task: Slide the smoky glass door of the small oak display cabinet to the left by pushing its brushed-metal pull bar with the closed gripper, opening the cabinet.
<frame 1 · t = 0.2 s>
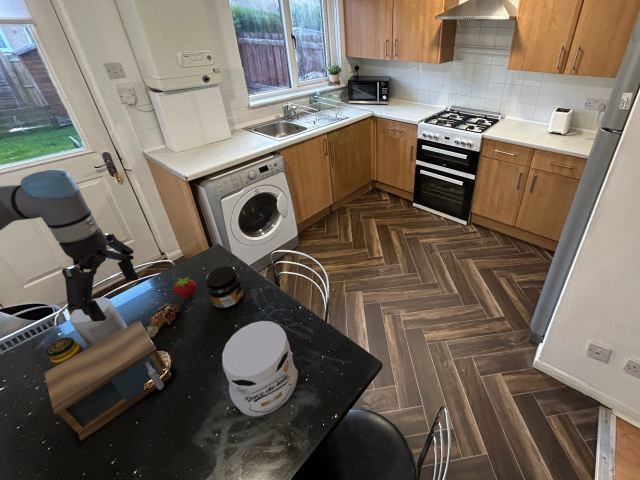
hand: (117, 298, 82), 24 cm above the table, tool pointing down, fingers open, 13 cm apart
pastry: (162, 321, 104), on the table
doce de leite tub: (267, 387, 86), on the table
supplement tub: (112, 341, 98), on the table
supplement container: (229, 299, 113), on the table
cabinet: (121, 386, 86), on the table
glass door: (142, 382, 81), point 6 cm above the table, slide at 0.0 cm
strawberry: (189, 298, 113), on the table
condiment: (77, 371, 90), on the table
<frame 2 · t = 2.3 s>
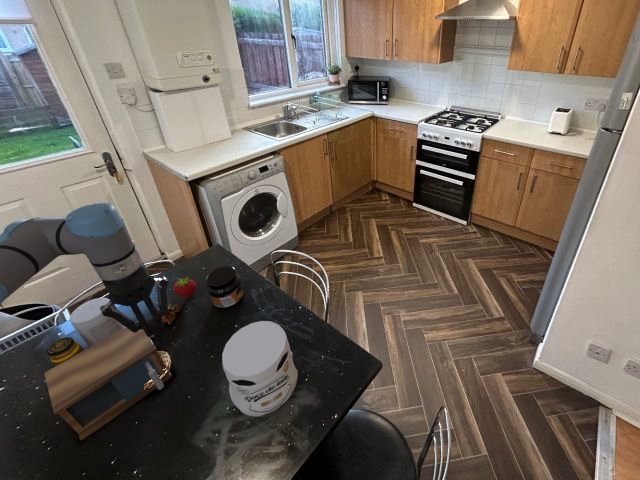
hand: (160, 339, 79), 18 cm above the table, tool pointing down, fingers closed
nothing on the table moved.
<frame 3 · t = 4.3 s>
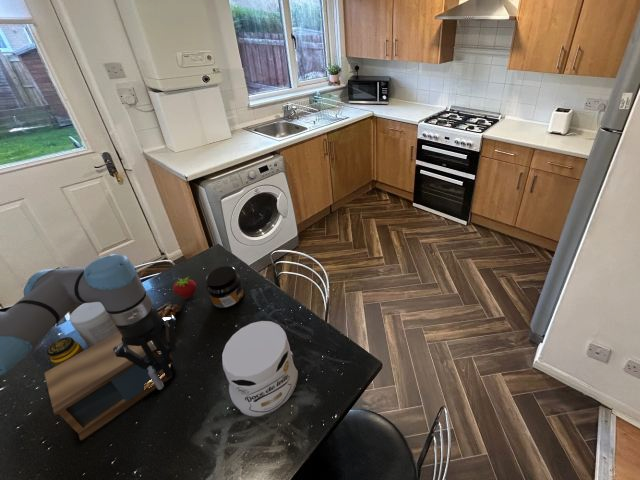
hand: (168, 372, 83), 6 cm above the table, tool pointing down, fingers closed
glass door: (142, 382, 81), point 6 cm above the table, slide at 0.0 cm, touching gripper
everything else where it was.
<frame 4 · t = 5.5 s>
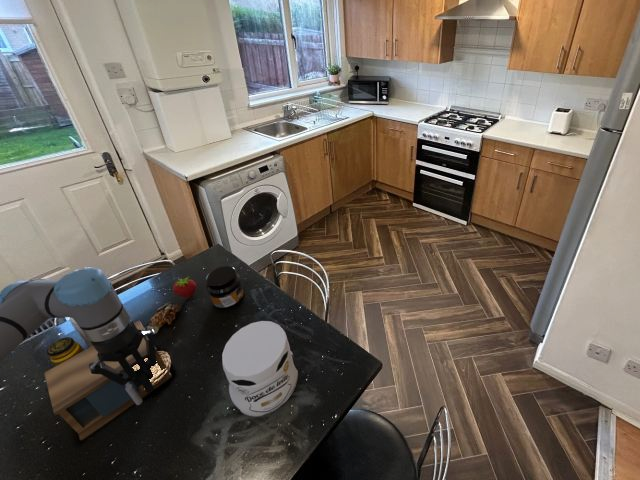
hand: (149, 387, 80), 5 cm above the table, tool pointing down, fingers closed
glass door: (119, 397, 77), point 6 cm above the table, slide at 4.9 cm, touching gripper
everything else where it was.
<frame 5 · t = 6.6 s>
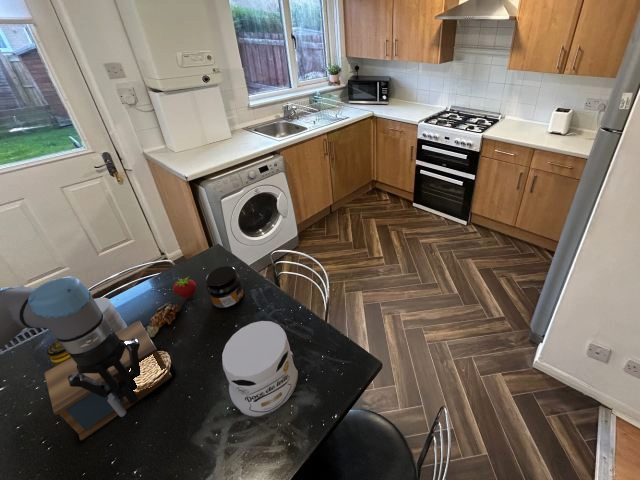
hand: (133, 398, 78), 5 cm above the table, tool pointing down, fingers closed
glass door: (102, 409, 75), point 6 cm above the table, slide at 8.4 cm, touching gripper
everything else where it was.
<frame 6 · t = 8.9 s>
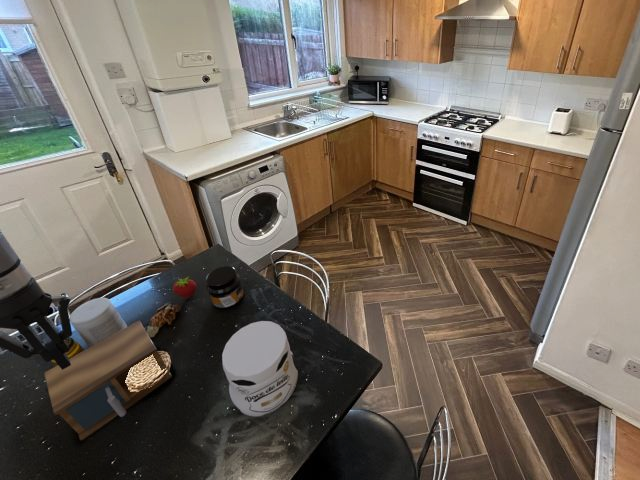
hand: (65, 363, 70), 21 cm above the table, tool pointing down, fingers closed
glass door: (102, 409, 75), point 6 cm above the table, slide at 8.4 cm
everything else where it was.
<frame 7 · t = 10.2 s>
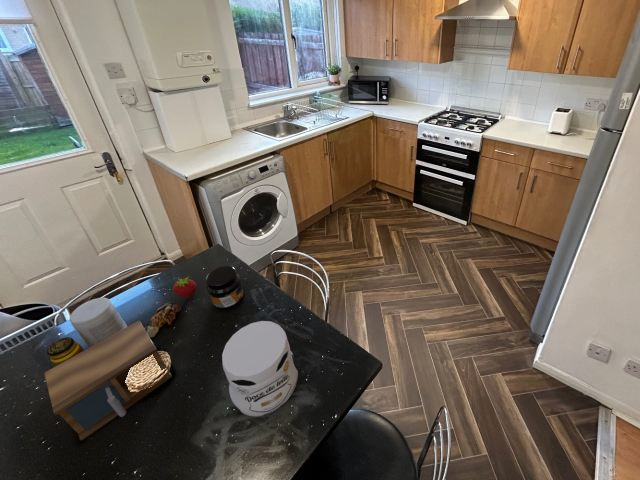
nothing on the table moved.
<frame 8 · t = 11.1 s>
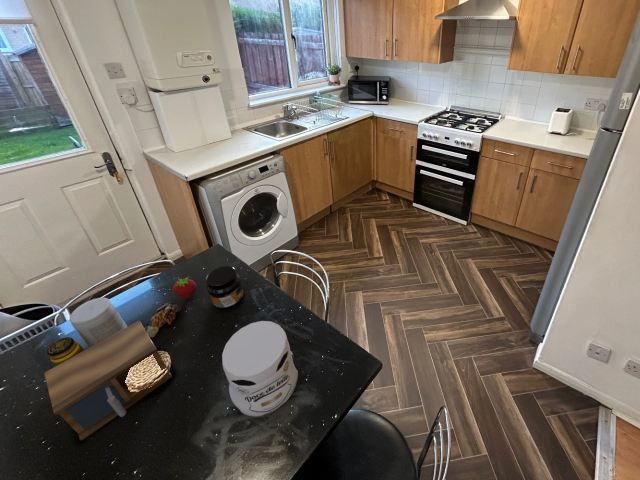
nothing on the table moved.
at the end: glass door slide at 8.4 cm; condiment moved 0.2 cm from its start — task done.
